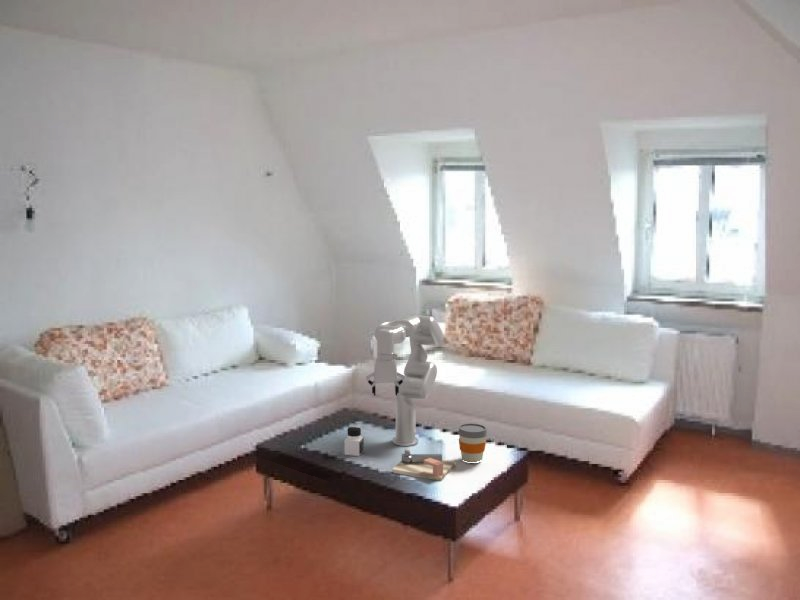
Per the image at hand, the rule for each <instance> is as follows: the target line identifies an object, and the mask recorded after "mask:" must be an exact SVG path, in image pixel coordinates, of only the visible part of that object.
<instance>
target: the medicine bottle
mask: <svg viewBox="0 0 800 600" xmlns="http://www.w3.org/2000/svg"><path fill="white" fill-rule="evenodd" d="M364 439H365V438H364V436H363V435H362V430H361V427H359V426H355V425H354V426H350V427H349V426H348V427H347V437H346V438H345V439H344V455H345V456H353V457H354V456H356V457H360V456H361V454H362V453H363V452H364Z"/></svg>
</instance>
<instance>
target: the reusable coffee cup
mask: <svg viewBox="0 0 800 600" xmlns="http://www.w3.org/2000/svg"><path fill="white" fill-rule="evenodd" d="M457 433H458V436H459V438H458V444H459V450H460V454H461V461H462V460H464V461H467V462H477V461H480V460H482V461H483V457H484V452H485V449H486V443H487V440H486V437H487V434H488V433H487V427H486V426H485V425H483V424H479V423H472V422H471V423H463V424H460V425H458V431H457Z"/></svg>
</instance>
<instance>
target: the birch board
mask: <svg viewBox="0 0 800 600" xmlns="http://www.w3.org/2000/svg"><path fill="white" fill-rule="evenodd" d="M404 454H405V456H410V454H411V450H410V449H405V450H404ZM442 462H443V475H441V476H438V477H437V476H434V475H433V466H430V465H428V464H425V463H424V462H412V463H403V462H402V460H401V461H399V462H398V463H397V464H396V465H395V466H394V467H392V469H391V473H392V472H393V473H394V474H399V475H405V476H411V477H418V478H424V479H429V480H433V481H441V482H442V481H443V480H444V479H445V478H446V476H447V475H448V474H449V473H450V472H451V471H452V469H454V467H455V466H456V461H451V460H445V459H442Z"/></svg>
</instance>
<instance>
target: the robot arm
mask: <svg viewBox="0 0 800 600" xmlns="http://www.w3.org/2000/svg"><path fill="white" fill-rule="evenodd" d="M373 335H374V338H375V340H376V359H375V360H374V365H373V367H374V368H373V372H371V373H369V374H367V375H366V376H365V380H366V381H367V383H368V384H369V385H370V386H371V393H372V394H373V396H376V385H377V384H378V383H379V384H381V383H383V384H384V383H385V384H388V383H394V384H393V390H394V397H395V399H394V400H395V436H394V437H393V438H391V439H392V441H391V442H392V443H393V444H394V445H396V446H400V447H413V446H415V444H416V443H417V444H418V443H419V442H418V441H419V438H418V437H417V436H416V433H417V431H418V430H417V429H416V422H417V421H416V411H417V410H416V406H417V405H416V403H415V401H414V399H415V400H422V401H424V400H427V399H428V398H429V396H430V395H431V392H432V389H433V386H434V384H435V382H436V378H437V373H438V367H437V365H436V364H435V363H434V362H432V361H427V360H428V353H427V351H426V350H425V348H424V346H432V347H433V346H434V347H438V346H441V344H442V343H443V341H444V333H443V330H442V328H441V327H440V325H439V323H438V321H437V319H436V318H434V317H433V316H430V315H421V314H420V315H419V314H416V315H415V314H414V315H411V316H408V317H406V318H404V319H399V320H393V321H387V322H383V323H379V324H378V325H377V326H376V327H375V330H374V333H373ZM407 338H409V346H410V355H409V357H408V359H407V362H406V363H405V366H404V370H403V374H401V373H400V372H398V369H397V367H398V366H397V360H396V358H398V353H395V344H401V343H403V342H404V341H405V340H406V339H407ZM372 377H373V381H372V380H371V379H370V378H372ZM417 444H416V445H417Z"/></svg>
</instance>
